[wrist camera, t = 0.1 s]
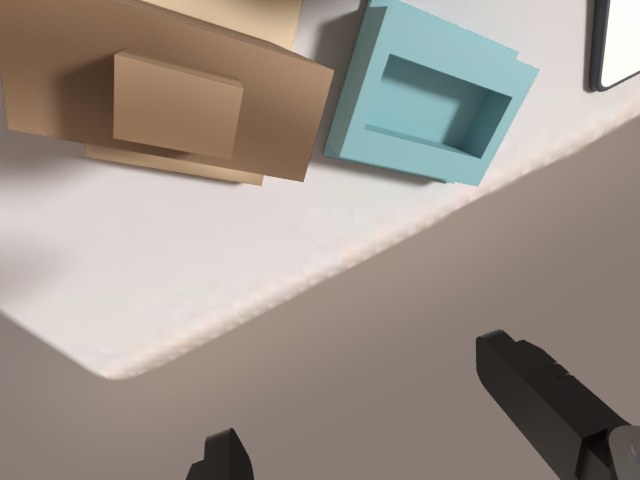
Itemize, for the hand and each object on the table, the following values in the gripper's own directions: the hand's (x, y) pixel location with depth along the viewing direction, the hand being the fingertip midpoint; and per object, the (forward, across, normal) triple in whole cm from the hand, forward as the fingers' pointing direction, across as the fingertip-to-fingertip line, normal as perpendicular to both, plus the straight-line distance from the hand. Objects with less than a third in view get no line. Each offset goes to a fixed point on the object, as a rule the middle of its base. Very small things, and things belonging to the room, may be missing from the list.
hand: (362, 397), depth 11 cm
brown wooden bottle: (+19, +2, -11) cm, 22 cm away
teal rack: (+22, -14, -4) cm, 26 cm away
